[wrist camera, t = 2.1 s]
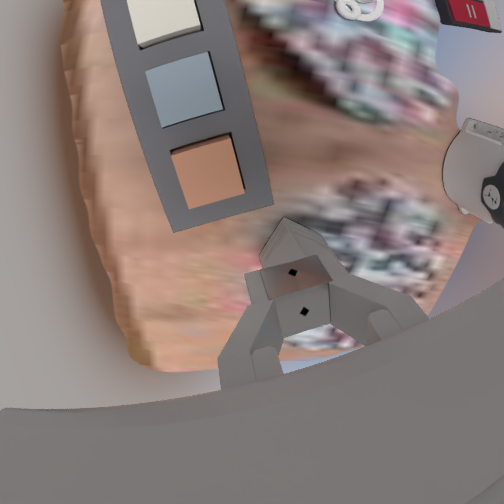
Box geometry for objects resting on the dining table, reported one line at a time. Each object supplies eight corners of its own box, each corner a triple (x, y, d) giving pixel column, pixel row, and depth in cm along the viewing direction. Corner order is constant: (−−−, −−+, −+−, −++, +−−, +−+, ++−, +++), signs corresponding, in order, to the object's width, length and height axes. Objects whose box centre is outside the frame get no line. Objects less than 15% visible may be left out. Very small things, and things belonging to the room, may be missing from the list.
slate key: (207, 56, 25) (207, 51, 22) (220, 107, 29) (222, 109, 25) (152, 73, 25) (145, 71, 22) (167, 122, 29) (161, 127, 25)
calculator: (434, -37, 18) (489, -19, 17) (419, -32, 22) (474, -18, 21) (455, 23, 24) (505, 33, 23) (438, 24, 28) (489, 32, 27)
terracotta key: (227, 132, 30) (230, 138, 27) (240, 180, 34) (244, 193, 30) (175, 147, 30) (170, 155, 27) (190, 195, 34) (189, 209, 30)
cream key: (188, -11, 21) (187, -24, 17) (200, 33, 24) (200, 24, 20) (135, 6, 21) (125, -5, 17) (146, 49, 24) (137, 44, 20)
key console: (210, -26, 22) (211, -44, 17) (264, 187, 38) (274, 204, 33) (113, 4, 22) (98, -9, 17) (177, 212, 38) (173, 232, 33)
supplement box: (257, 256, 44) (275, 314, 33) (283, 215, 41) (312, 265, 30) (296, 272, 47) (322, 328, 36) (323, 235, 44) (359, 286, 33)
